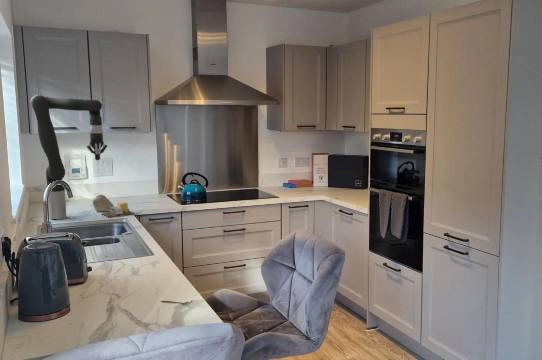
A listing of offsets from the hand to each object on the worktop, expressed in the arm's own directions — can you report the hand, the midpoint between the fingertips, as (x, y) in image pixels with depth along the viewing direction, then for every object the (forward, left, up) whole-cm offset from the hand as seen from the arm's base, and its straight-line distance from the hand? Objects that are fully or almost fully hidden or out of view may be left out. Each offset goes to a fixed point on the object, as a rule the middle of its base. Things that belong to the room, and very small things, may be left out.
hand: (97, 160), depth 313 cm
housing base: (+8, -9, -35) cm, 37 cm away
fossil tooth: (+5, +7, -35) cm, 36 cm away
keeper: (+7, -9, -33) cm, 35 cm away
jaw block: (+12, -9, -34) cm, 36 cm away
